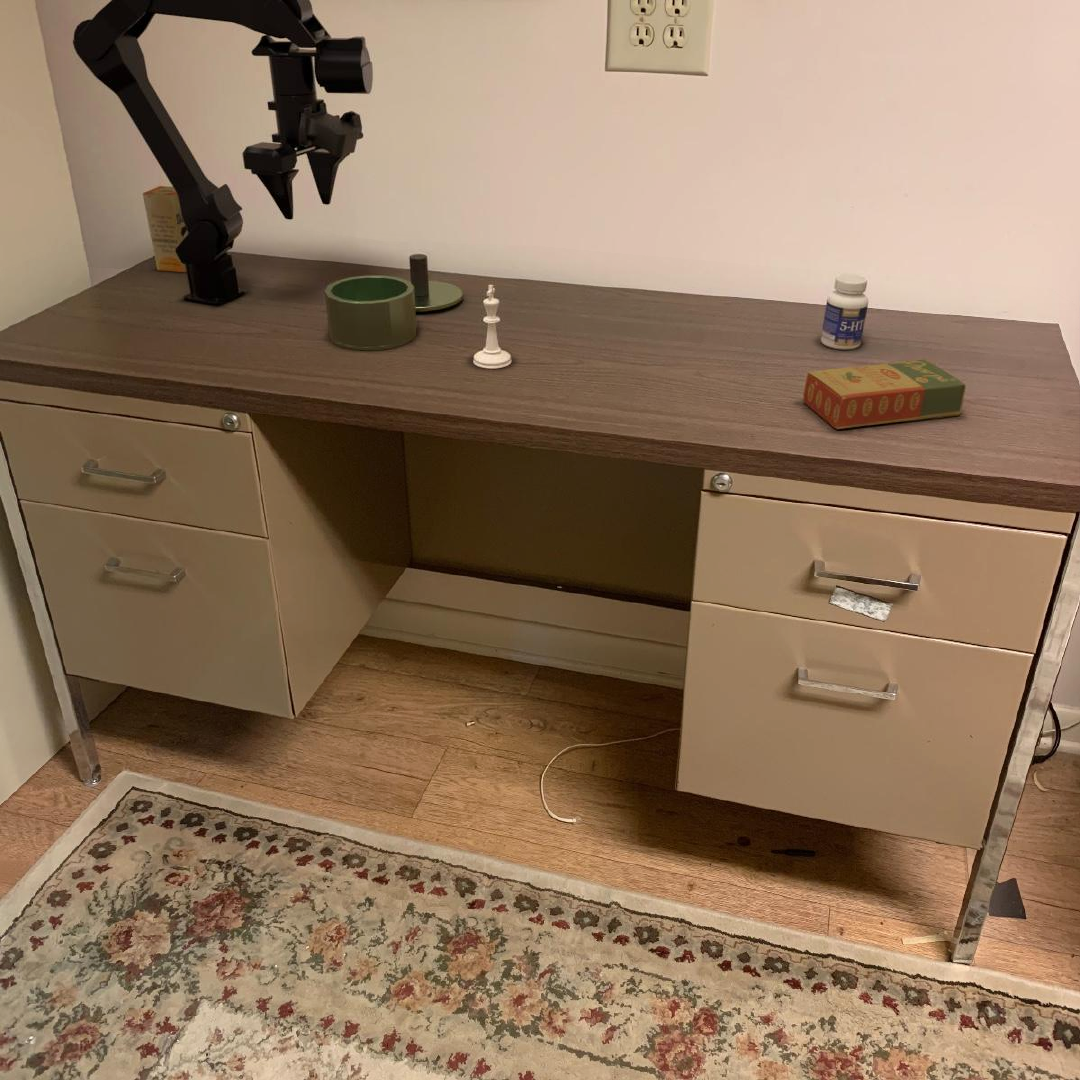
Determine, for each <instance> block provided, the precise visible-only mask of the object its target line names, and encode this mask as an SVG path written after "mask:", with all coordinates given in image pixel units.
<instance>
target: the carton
mask: <svg viewBox="0 0 1080 1080" xmlns="http://www.w3.org/2000/svg"><path fill="white" fill-rule="evenodd" d="M805 379H806V380H805V383H804V384H805V385H804V389H803V395H802V396H803V397H802V402H803V403H804V404H805V405H807V406H808V407H809V408H810V409H811V410H812V411H813V412H814V413H816V414H817V415H818V416H820V417H821V418H822V419H823V420H824V421H825V422H827V423H828V424H829V425H830V426H832V427H833V428H834V429H835V430H840V429H849V428H850V429H851V428H857V427H863V426H865V427H866V426H873V425H881V424H891V423H899V422H911V421H919V420H920V421H921V420H931V419H932V420H933V419H941V418H952V417H958V416H959V415H960V414H961V412H962V409H963V405H964V399H965V394H966V382H964V381H962V380H960V379H958V377H955V376H953V375H952V374H950V373H948V372H947V371H945V370H943V369H942V368H940V367H939V366H937V365H935V364H934V363H932V362H930V361H929V360H927V359H917V360H907V361H899V362H889V363H888V362H887V363H880V364H870V365H861V366H851V367H850V366H849V367H842V368H831V369H823V370H822V369H821V370H813V371H808V372H807V375H806V378H805Z"/></svg>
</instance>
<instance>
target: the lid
mask: <svg viewBox="0 0 1080 1080" xmlns="http://www.w3.org/2000/svg"><path fill="white" fill-rule="evenodd" d="M408 259H409V275H410V277H409V278H410V280H408V281H409V282H410V283H411V284H412V285H413V286H414V295H415V311H416V312H430V311H431V312H432V311H437V310H443V309H446V308H450V307H452V306H455V305H457V304H459V303H460V302H461V301H462V299H463V291H462V289H461V288H460V287H459V286H457V285H454V284H452V283H449V282H444V281H438V280H429V265H428V264H429V263H428V262H429V261H428V255H427V254H423V253H414V254H411V255H410V256H409V257H408Z"/></svg>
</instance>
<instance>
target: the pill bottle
mask: <svg viewBox="0 0 1080 1080" xmlns="http://www.w3.org/2000/svg"><path fill="white" fill-rule="evenodd" d="M867 286H868V279H867V278H866V277H864V276H862V275H858V274H853V273H852V274H850V273H847V274H846V273H845V274H839V275H837V276H836V277H835V281H834V291H832V292H831V293H829V294H828V296H827V299H826V304H825V311H824V315H823V323H822V328H821V335H820V342H821V343H822V344H823V345H824V346H825V347H828V348H832V349H836V350H843V351H844V350H854V349H857V348H859V347H860V346H861V344H862V339H863V338H862V337H863V334H864V329H865V322H866V317H867V313H868V306H869V298H868V297H867V295H866V294H864V293H865V292H866V290H867Z"/></svg>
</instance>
